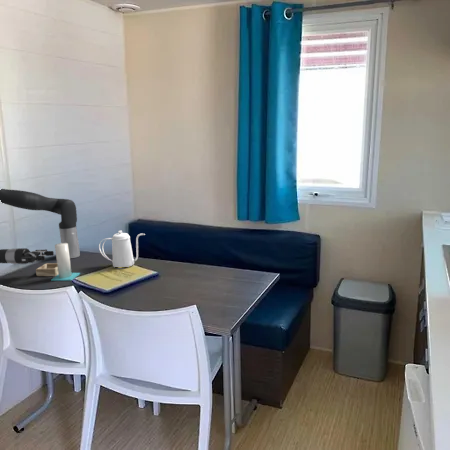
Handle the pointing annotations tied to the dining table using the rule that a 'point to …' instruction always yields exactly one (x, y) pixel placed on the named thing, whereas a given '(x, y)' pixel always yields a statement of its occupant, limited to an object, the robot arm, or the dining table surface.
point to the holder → (47, 270)
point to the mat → (65, 278)
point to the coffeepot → (121, 250)
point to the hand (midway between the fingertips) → (49, 255)
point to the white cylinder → (63, 260)
